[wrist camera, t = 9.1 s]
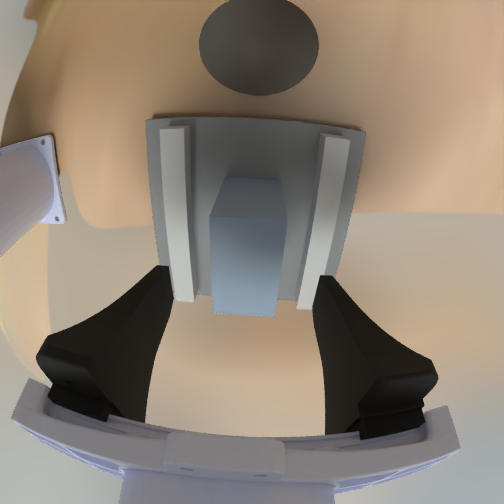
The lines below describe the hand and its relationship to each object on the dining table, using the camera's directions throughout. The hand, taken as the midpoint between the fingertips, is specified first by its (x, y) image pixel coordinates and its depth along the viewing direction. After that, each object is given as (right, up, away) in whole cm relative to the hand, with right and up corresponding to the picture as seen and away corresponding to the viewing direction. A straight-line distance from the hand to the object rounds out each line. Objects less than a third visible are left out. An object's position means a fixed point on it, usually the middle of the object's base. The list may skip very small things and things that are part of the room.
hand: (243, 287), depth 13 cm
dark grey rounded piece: (+1, +14, +1) cm, 14 cm away
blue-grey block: (0, +4, +6) cm, 7 cm away
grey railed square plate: (0, +4, +7) cm, 8 cm away
